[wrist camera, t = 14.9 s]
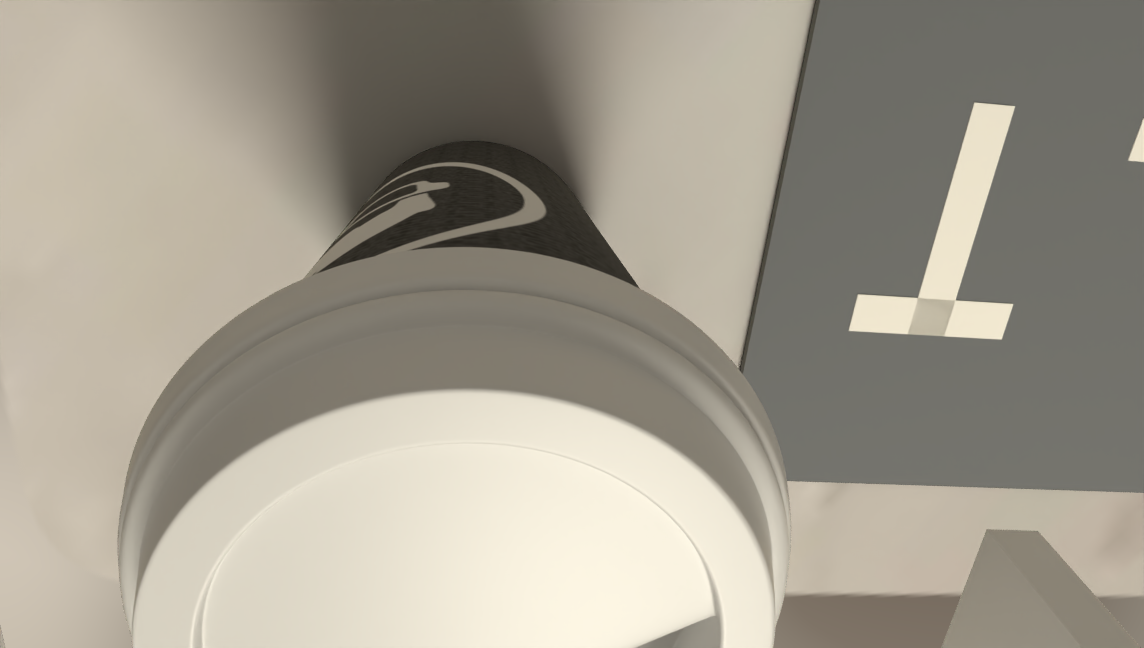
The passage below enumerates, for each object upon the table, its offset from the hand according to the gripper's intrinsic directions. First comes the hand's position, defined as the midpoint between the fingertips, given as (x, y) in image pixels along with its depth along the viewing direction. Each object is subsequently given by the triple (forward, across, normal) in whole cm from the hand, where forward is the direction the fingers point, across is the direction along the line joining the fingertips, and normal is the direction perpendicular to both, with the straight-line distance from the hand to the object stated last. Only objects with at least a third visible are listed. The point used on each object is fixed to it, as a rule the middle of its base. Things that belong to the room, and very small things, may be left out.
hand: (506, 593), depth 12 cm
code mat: (+14, +17, +1) cm, 22 cm away
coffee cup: (+14, -1, 0) cm, 14 cm away
